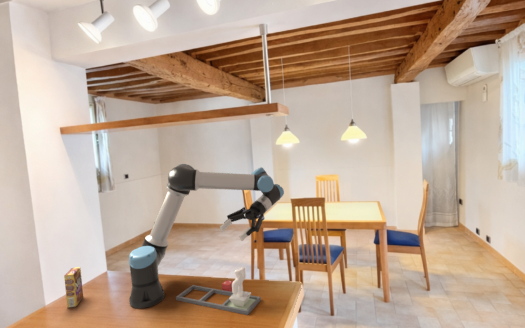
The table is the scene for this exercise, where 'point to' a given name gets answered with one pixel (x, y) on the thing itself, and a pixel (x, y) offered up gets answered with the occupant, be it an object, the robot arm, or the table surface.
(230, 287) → the red die
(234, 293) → the figurine
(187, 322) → the table surface
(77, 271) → the candy box
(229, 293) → the frame
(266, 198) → the robot arm
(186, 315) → the table surface
